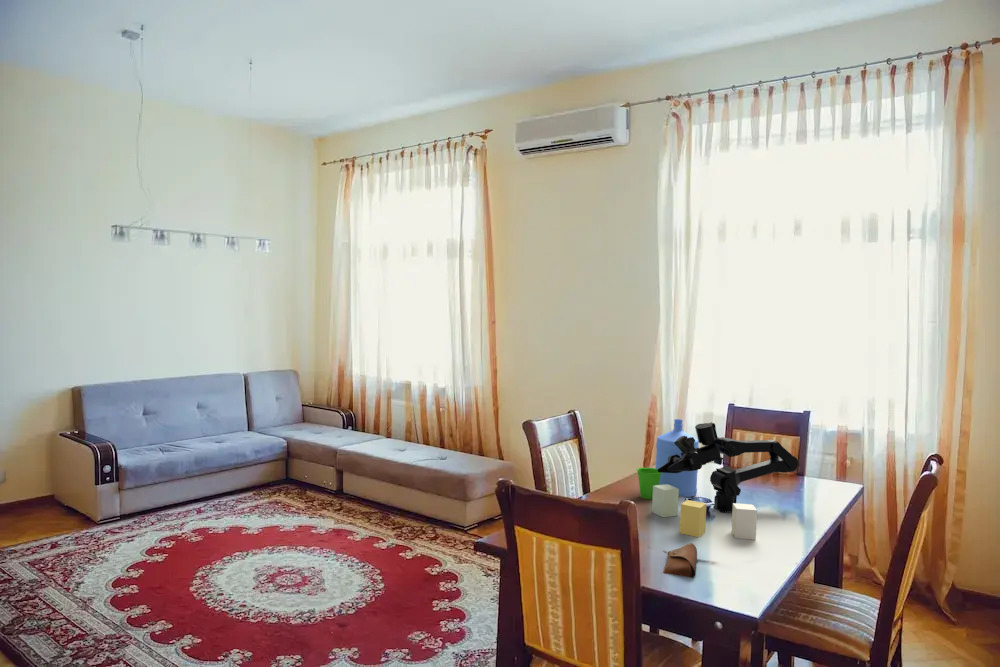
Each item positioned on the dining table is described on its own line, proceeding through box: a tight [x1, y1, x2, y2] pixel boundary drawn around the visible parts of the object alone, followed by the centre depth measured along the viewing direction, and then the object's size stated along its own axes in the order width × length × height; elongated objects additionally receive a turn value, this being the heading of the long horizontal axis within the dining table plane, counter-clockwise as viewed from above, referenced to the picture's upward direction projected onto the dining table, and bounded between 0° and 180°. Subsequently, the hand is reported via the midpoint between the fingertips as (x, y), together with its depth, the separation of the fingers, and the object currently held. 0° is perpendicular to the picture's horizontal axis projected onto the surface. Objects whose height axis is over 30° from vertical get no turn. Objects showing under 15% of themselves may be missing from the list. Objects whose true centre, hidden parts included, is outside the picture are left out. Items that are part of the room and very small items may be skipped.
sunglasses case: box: [662, 543, 698, 579], centre depth 188 cm, size 18×7×7 cm
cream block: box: [731, 502, 758, 541], centre depth 210 cm, size 6×6×9 cm
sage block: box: [651, 484, 680, 518], centre depth 230 cm, size 6×6×9 cm
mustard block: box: [679, 499, 707, 538], centre depth 211 cm, size 6×6×9 cm
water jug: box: [654, 418, 700, 498], centre depth 261 cm, size 16×16×28 cm
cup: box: [636, 467, 661, 500], centre depth 250 cm, size 9×9×11 cm
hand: (663, 470), depth 234 cm, fingers open, 9 cm apart
